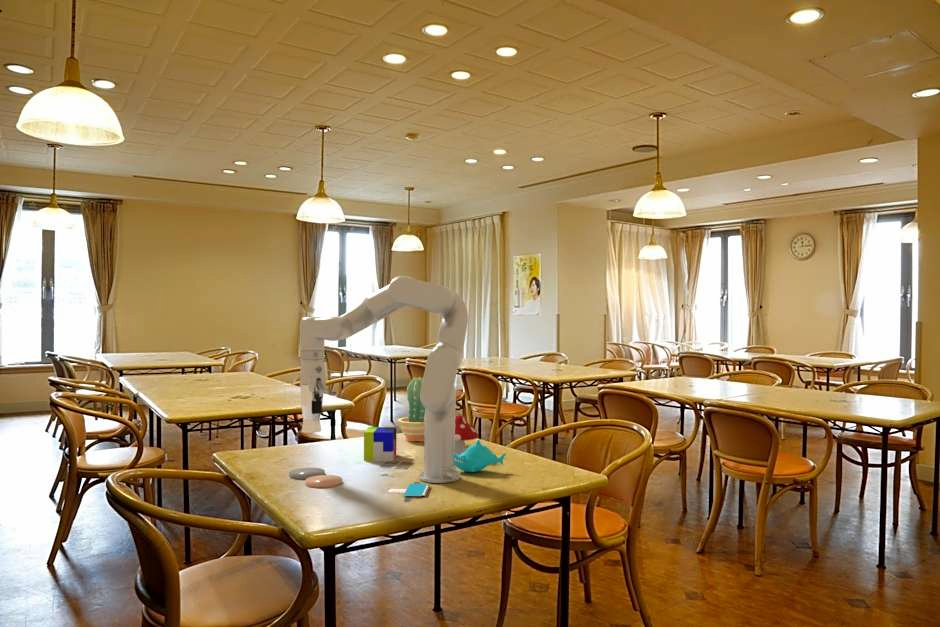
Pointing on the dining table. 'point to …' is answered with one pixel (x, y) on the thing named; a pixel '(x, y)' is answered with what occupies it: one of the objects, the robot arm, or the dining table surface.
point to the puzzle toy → (380, 444)
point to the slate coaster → (306, 473)
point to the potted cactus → (414, 413)
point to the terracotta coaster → (323, 481)
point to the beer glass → (309, 411)
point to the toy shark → (476, 458)
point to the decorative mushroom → (463, 434)
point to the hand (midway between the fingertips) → (311, 411)
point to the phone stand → (412, 490)
